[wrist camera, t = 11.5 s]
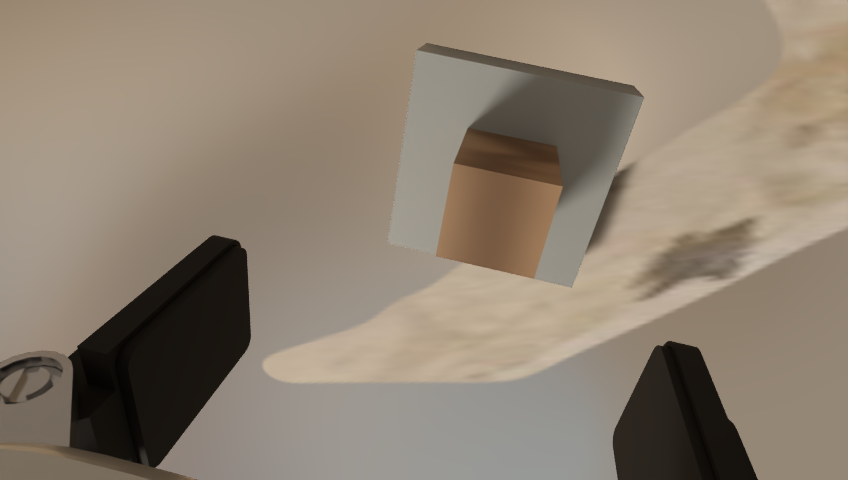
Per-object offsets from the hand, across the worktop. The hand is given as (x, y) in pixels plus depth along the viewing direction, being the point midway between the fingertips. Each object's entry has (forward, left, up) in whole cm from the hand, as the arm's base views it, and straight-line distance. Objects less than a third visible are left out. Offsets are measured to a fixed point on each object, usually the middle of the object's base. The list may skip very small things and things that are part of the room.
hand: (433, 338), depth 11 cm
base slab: (-1, +3, -22) cm, 22 cm away
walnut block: (-1, +3, -19) cm, 19 cm away
